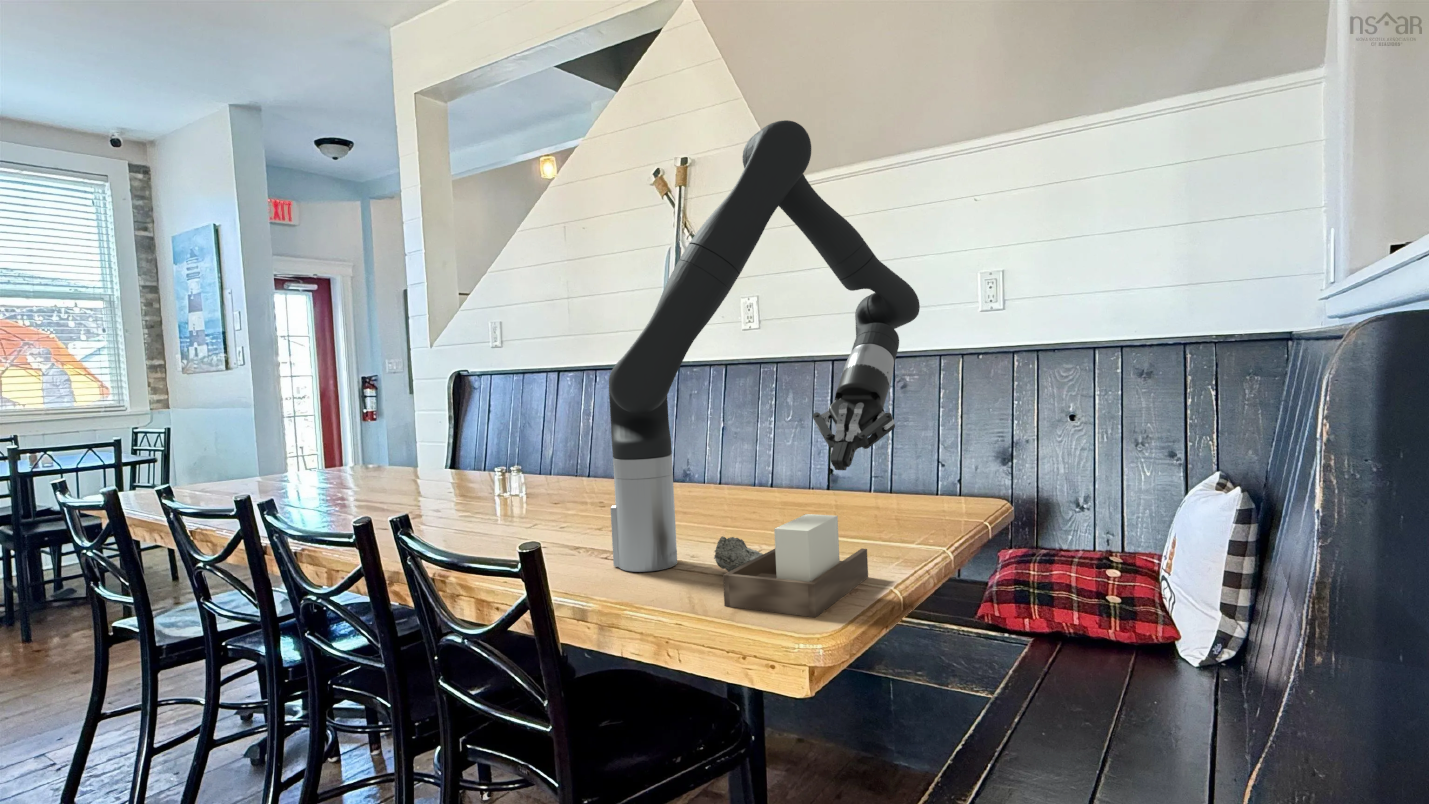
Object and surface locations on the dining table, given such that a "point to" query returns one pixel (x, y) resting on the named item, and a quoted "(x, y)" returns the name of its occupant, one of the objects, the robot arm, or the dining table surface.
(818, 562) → the brick
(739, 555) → the rock sample
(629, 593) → the dining table surface
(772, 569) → the box
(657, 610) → the dining table surface
